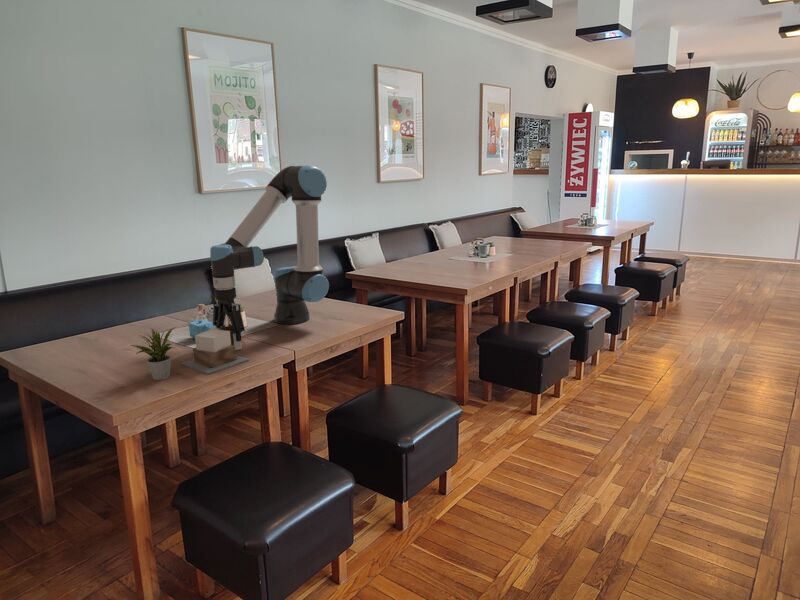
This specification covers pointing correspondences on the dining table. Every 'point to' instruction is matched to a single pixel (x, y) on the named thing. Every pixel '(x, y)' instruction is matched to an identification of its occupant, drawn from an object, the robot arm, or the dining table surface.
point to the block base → (215, 357)
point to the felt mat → (212, 370)
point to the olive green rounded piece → (228, 330)
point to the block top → (213, 340)
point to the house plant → (157, 355)
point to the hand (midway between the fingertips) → (230, 346)
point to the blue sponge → (199, 327)
